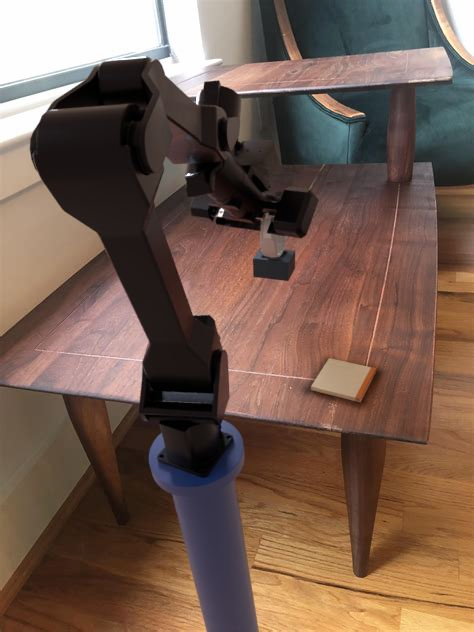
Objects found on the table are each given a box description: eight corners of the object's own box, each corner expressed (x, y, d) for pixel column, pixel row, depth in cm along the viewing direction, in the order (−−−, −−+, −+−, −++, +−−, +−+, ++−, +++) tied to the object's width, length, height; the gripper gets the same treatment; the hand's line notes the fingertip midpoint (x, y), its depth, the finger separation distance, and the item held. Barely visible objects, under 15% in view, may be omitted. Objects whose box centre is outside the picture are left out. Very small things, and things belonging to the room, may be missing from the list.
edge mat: (360, 402, 66) (360, 398, 66) (311, 390, 69) (310, 386, 68) (376, 371, 70) (376, 368, 70) (329, 361, 73) (329, 357, 73)
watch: (297, 263, 87) (299, 196, 81) (285, 286, 81) (286, 216, 75) (264, 259, 89) (263, 194, 83) (249, 282, 82) (247, 213, 77)
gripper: (309, 126, 65) (349, 188, 78) (190, 121, 76) (243, 176, 89) (278, 211, 64) (324, 259, 77) (162, 194, 74) (220, 239, 87)
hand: (276, 230), depth 83 cm, fingers closed on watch, 5 cm apart
